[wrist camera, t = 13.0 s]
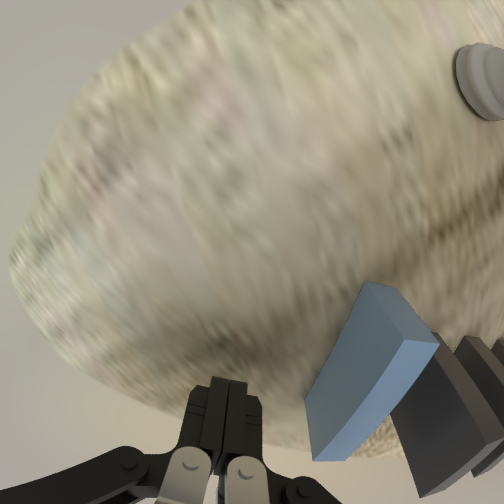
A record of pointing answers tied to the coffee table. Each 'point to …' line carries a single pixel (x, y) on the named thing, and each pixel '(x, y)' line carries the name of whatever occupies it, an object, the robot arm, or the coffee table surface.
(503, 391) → the domino
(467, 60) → the rook chess piece
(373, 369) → the tile
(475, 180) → the coffee table surface
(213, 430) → the robot arm
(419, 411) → the domino
